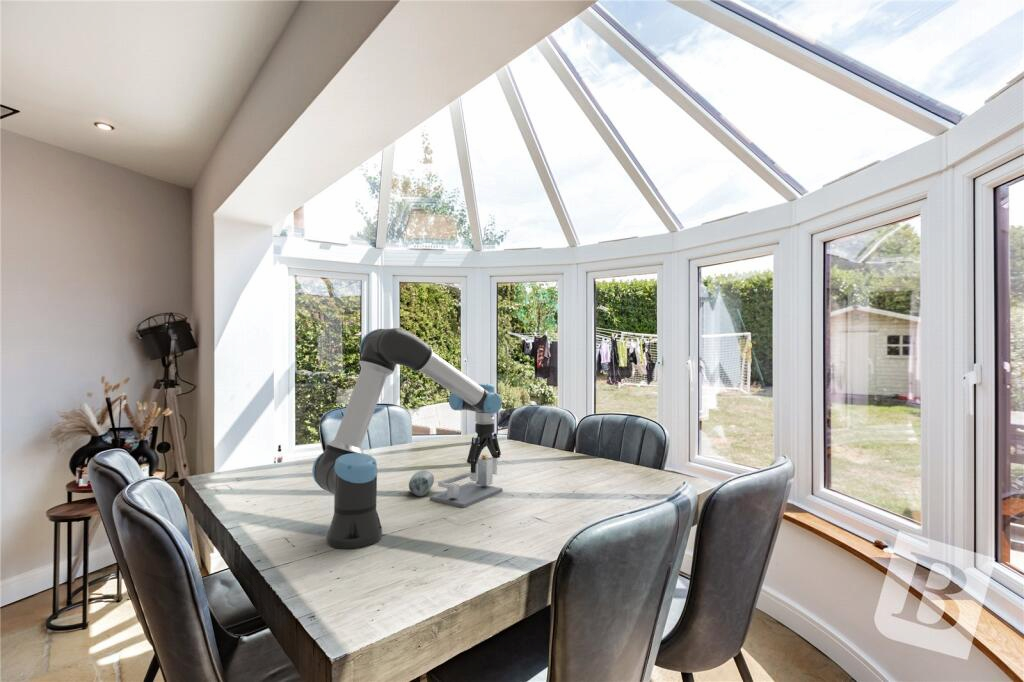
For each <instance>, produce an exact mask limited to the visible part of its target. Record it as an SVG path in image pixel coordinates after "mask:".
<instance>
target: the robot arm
mask: <svg viewBox="0 0 1024 682" xmlns="http://www.w3.org/2000/svg"><path fill="white" fill-rule="evenodd" d="M359 344H360V345H359V352H360V355H361V356H360V359H359V360H358V363H359V366H360V368H361V370H360V371H359V375H358V377H357V379H356V381H355V385H354V387H353V389H352V393H351V395H350V398H349V400H348V403H347V405H346V408H345V411H344V413H343V415H342V418H341V422H340V424H339V426H338V428H337V429H338V430H337V431H336V434H335V437H334V439H333V440H330V441H329V442H327V444H326V446H325V449H324V452H322V453H320V454H319V455H318V456H317V458H315V461H314V462H313V465H312V471H311V472H312V477H313V480H314V482H315V483H316V484H317V485H318V486H319V487H320V488H321V489H323V490H324V491H327V492H329V493H331V494H333V497H334V498H333V499H334V501H333V504H334V506H333V516H332V519H331V523H330V525H329V529H328V532H327V533H326V535H327V537H326V543H327V545H329V546H330V547H332V548H335V549H341V550H342V549H346V550H350V549H361V548H363V547H368V546H371V545H373V544H375V543H378V541H380V540H381V539H382V538H383V527H382V526H383V525H382V524H381V521H380V517H379V514H378V510H377V490H378V485H377V484H378V464H377V463H378V462H377V460H376V459H375V458H374V457H373V456H372V455H369V454H367V453H364V451H363V449H362V446H363V443H364V440H365V437H366V436H367V432H368V430H369V427H370V424H371V421H372V418H373V416H374V412H375V410H376V408H377V405H378V402H379V399H380V397H381V393H382V391H383V388H384V385H385V383H386V380H387V378H388V377H389V376H391V375H393V374H394V371H395V369H396V365H400V366H403V367H406V368H409V369H410V370H412V371H413V372H420V373H421V374H423V375H425V376H426V377H428V378H429V379H431V380H432V381H434V382H435V383H437V384H439V385H440V386H442V387H443V388H445V389H446V390H448V391H450V392H451V393H450V394H449V397H448V405H449V407H450V408H451V409H452V410H453V411H470V412H475V416H474V417H475V419H474V420H475V430H474V431H475V433H476V434H477V435H476V437H474V436H473V437H471V444H470V447H469V451H468V457H467V459H466V463H467V464H469V465H470V471H471V476H470V477H471V479H470V482H471V481H472V482H475V483H476V482H477V481H478V464H477V461H478V459H479V458H480V456H481V454H482V451H483V450H484V449H485V448H486V447H487V450H488V451H489V453H490V456H491V457H490V458H493V468H492V475H498V459H500V458H501V454H502V453H501V448H500V445H499V441H498V433H496V432H495V423H494V422H495V414H497V413H498V412H499V411H500V410H501V408H502V405H503V404H502V403H503V400H502V397H501V396H500V394H499V393H495V385H494V384H493V383H477V382H476V381H474V380H473V379H472V378H470V377H468V376H467V375H466V374H464V373H463V372H462V371H460V370H459V369H457V368H456V367H455V366H453V365H452V364H450V363H449V362H447V361H446V360H444V358H442V357H441V356H439V355H438V354H437V353H435V352H433V351H434V350H433V347H432V346H430V345H429V344H428V343H426V342H425V341H423V340H422V339H421V338H420V337H418V336H416V335H414V334H413V333H412V332H410V331H408V330H406V329H403V328H399V327H394V328H393V327H392V328H377V329H374V330H371V331H369V332H367V333H366V334H365V335H364V337H363V338H362V339H361V341H360V343H359Z"/></svg>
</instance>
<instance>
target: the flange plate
mask: <svg viewBox="0 0 1024 682" xmlns="http://www.w3.org/2000/svg"><path fill="white" fill-rule="evenodd" d="M501 492H503V488H502V487H498V486H492V485H488V486H483V485H479V484H476V482H474V481H472V482H471V481H469V482H467V483H464V484H461V485H459V496H456V497H454V499H452V497H449V496H447V490H444V491H442V492H441V491H440V492H439V493H435V494H433V495H430V496H429V500H430V501H432V502H437V503H442V504H445V505H450V506H455V507H459V508H463V509H465V508H468V507H469V506H472V505H474V504H476V503H479V502H481V501H483V500H486V499H487V498H490V497H494V496H495V495H497V494H499V493H501Z"/></svg>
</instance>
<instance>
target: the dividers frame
mask: <svg viewBox="0 0 1024 682" xmlns="http://www.w3.org/2000/svg"><path fill="white" fill-rule="evenodd" d="M470 477H471V470H470V471H466V472H464V473H460V474H457V475H455V476H451V477H449V478H446V479H442V480H440V481H437V487H439V488H444V489H446V491H447V496H449V497H452V499H454V497H456V496H459V486H460V484H459V483H456V482H458V481H461V480H464V479H467V478H470Z"/></svg>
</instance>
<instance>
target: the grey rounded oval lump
mask: <svg viewBox="0 0 1024 682" xmlns="http://www.w3.org/2000/svg"><path fill="white" fill-rule="evenodd" d="M434 482H435V476H434V474H433V472H431V471H430V470H428V469H427V470H426V469H421V470H417V472H415V473H414V474H413V475H412V476H411V478H410V479H409V483H408V489H409V491H410V492H411V493H412V494H413V495H415V496H417V497H424V496H425V495H427V493H428V492H429V491H430V490H431V488H432V486H433V485H434Z"/></svg>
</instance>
